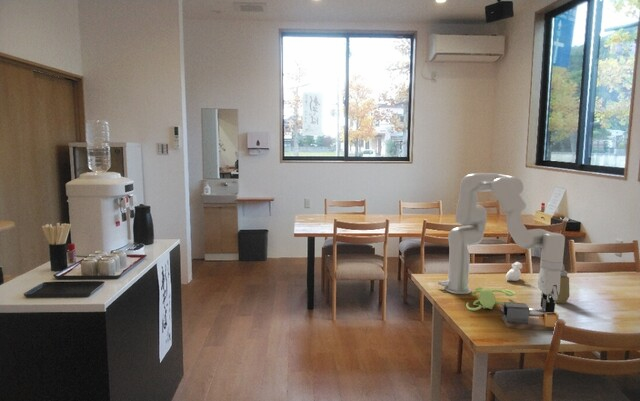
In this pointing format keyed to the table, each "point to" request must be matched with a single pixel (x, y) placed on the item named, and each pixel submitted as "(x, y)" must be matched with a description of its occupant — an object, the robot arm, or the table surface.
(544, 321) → the orange socket
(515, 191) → the robot arm
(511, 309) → the grey sleeve
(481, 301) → the figurine
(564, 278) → the squeeze bottle
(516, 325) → the walnut board
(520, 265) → the bust
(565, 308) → the table surface
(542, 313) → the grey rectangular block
